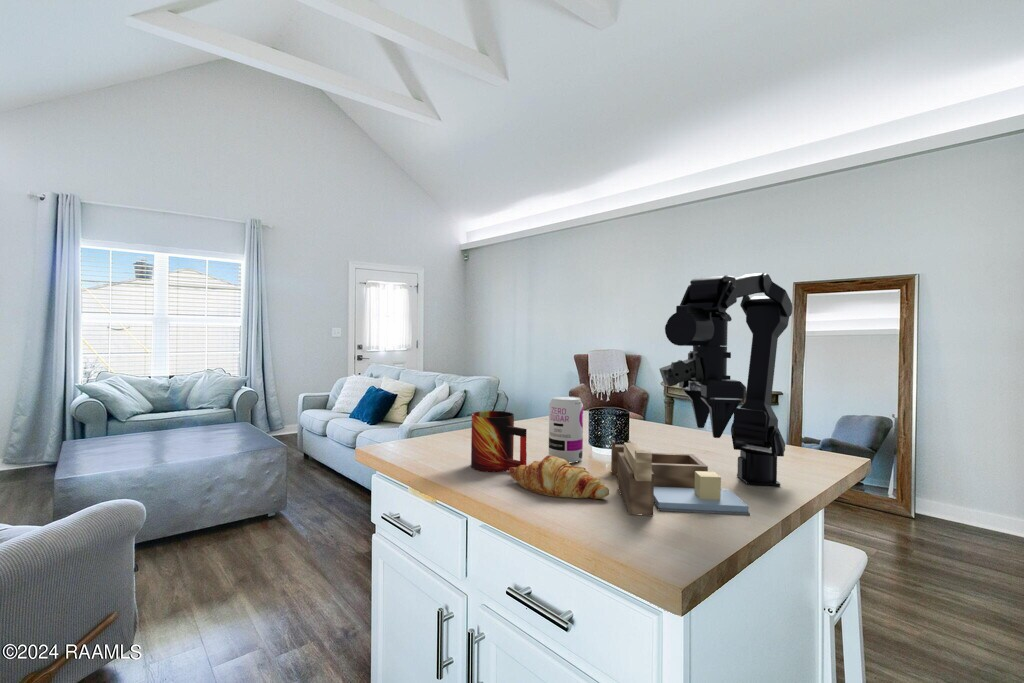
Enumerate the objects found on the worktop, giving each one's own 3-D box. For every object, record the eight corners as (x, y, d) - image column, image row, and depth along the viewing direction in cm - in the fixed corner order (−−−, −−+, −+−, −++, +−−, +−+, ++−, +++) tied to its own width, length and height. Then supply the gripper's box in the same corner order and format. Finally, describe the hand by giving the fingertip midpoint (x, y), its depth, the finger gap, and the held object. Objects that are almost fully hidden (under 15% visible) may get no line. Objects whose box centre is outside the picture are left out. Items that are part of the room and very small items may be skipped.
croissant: (613, 515, 90) (620, 473, 93) (598, 504, 82) (607, 458, 85) (514, 493, 101) (524, 456, 104) (493, 481, 93) (504, 442, 96)
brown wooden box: (689, 474, 105) (690, 442, 105) (733, 519, 79) (734, 477, 79) (611, 471, 107) (611, 439, 107) (628, 514, 81) (629, 473, 81)
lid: (729, 494, 91) (730, 468, 91) (748, 512, 82) (749, 482, 82) (648, 491, 92) (649, 465, 92) (658, 507, 83) (659, 479, 83)
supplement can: (581, 456, 120) (582, 396, 120) (583, 465, 112) (584, 400, 112) (548, 455, 121) (549, 395, 121) (548, 463, 113) (549, 399, 113)
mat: (728, 495, 91) (728, 494, 91) (749, 514, 81) (750, 513, 81) (648, 492, 93) (648, 490, 93) (659, 510, 83) (659, 509, 83)
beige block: (636, 458, 93) (636, 434, 93) (651, 481, 78) (651, 453, 78) (623, 457, 94) (624, 434, 93) (636, 480, 79) (636, 452, 79)
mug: (525, 476, 103) (526, 419, 102) (464, 470, 106) (465, 416, 106) (535, 464, 112) (536, 413, 112) (479, 459, 116) (480, 410, 116)
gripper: (653, 344, 97) (652, 422, 97) (676, 346, 78) (675, 442, 78) (710, 345, 96) (709, 424, 96) (748, 347, 77) (746, 444, 77)
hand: (708, 432), depth 87 cm, fingers open, 9 cm apart
